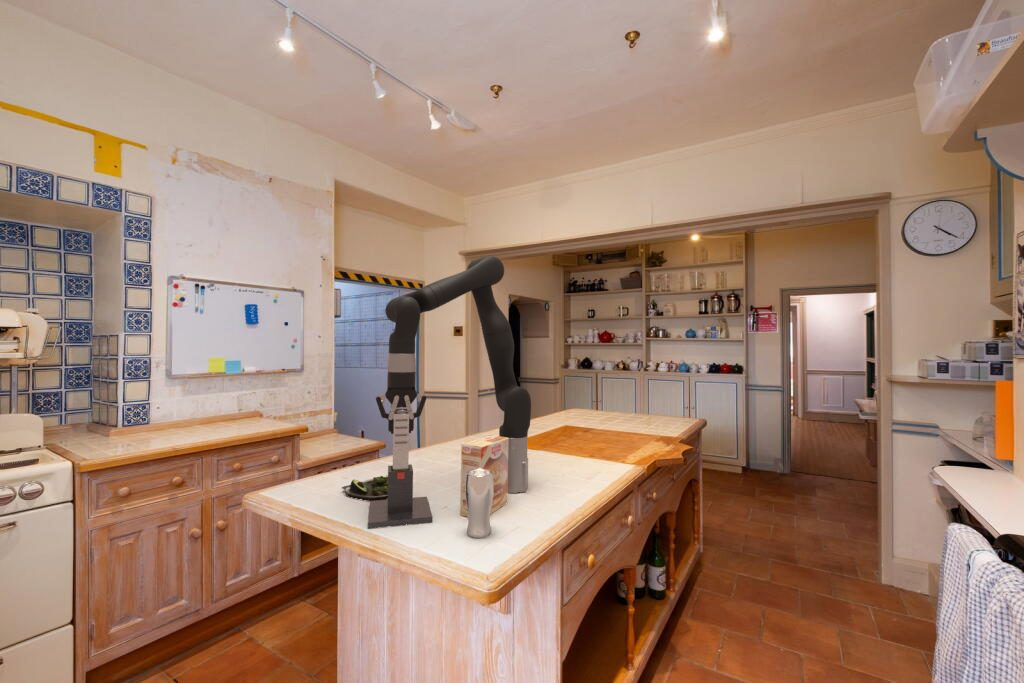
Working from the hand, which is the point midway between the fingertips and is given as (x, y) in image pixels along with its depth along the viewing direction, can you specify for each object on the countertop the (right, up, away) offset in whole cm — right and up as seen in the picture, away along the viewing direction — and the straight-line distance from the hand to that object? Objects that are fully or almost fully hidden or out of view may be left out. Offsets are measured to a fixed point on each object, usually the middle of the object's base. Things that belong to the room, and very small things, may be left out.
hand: (400, 432), depth 122 cm
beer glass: (+22, -23, -12) cm, 34 cm away
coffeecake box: (+23, -23, +4) cm, 32 cm away
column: (0, -15, 0) cm, 15 cm away
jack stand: (0, -22, 0) cm, 22 cm away
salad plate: (-13, -23, +18) cm, 32 cm away
